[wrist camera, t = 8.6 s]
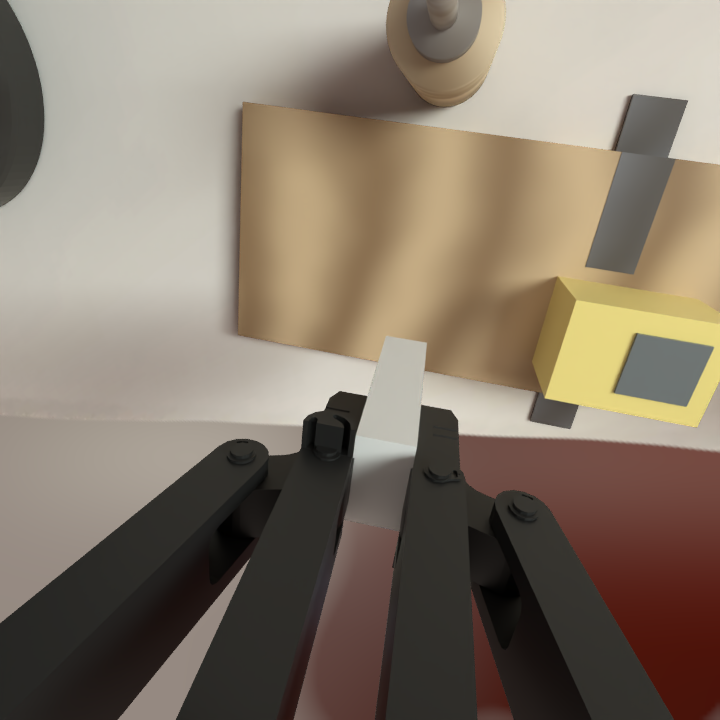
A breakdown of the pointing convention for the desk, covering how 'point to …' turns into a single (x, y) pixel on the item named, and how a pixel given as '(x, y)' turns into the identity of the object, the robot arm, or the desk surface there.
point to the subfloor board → (460, 234)
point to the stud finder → (629, 351)
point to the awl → (445, 45)
